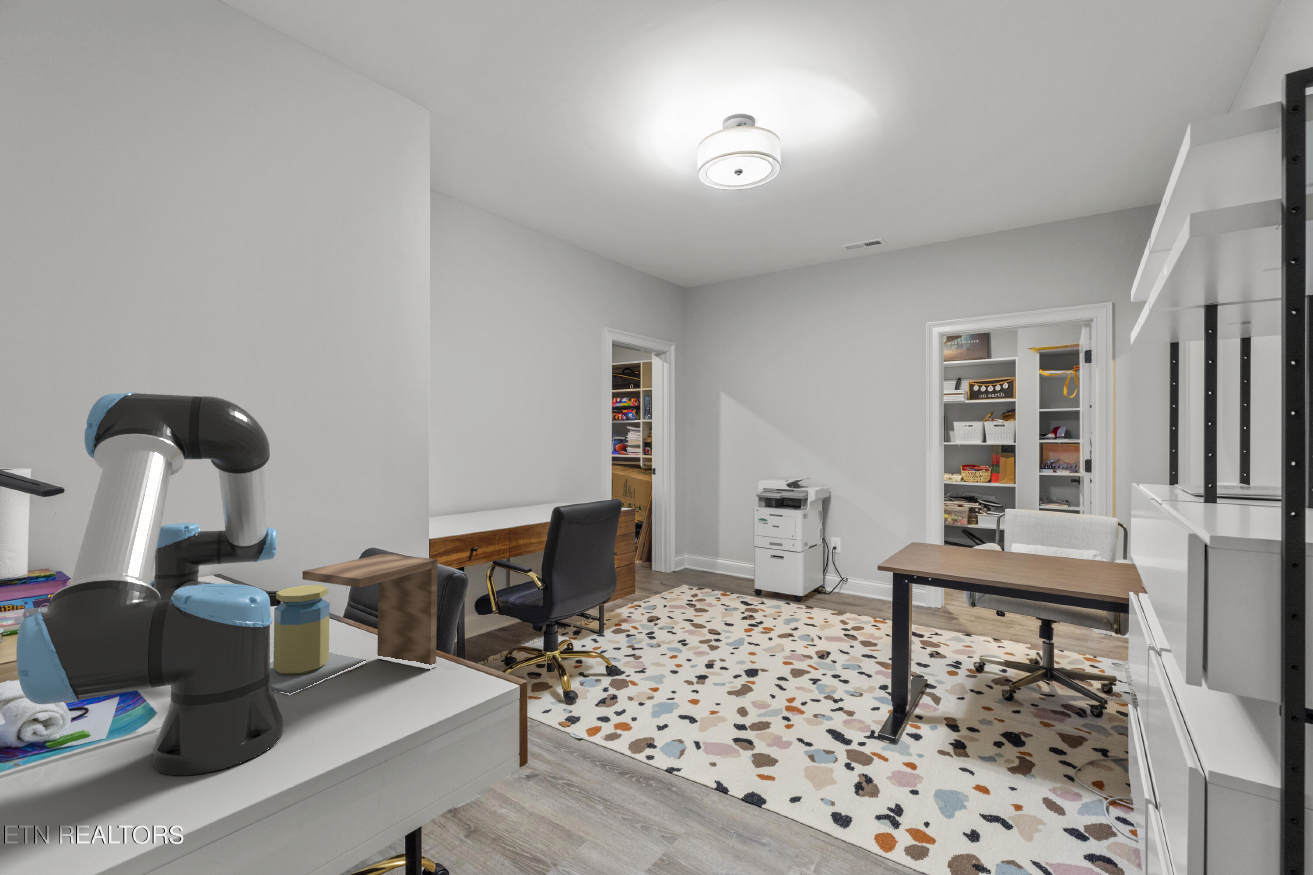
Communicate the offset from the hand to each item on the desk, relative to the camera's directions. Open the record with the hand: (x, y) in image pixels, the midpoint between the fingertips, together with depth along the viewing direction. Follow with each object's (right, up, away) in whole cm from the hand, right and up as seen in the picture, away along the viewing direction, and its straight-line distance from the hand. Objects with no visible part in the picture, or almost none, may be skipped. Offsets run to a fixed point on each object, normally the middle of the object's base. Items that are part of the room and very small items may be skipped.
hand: (271, 612), depth 116 cm
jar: (+8, -10, -3) cm, 13 cm away
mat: (+8, -10, -3) cm, 13 cm away
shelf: (+23, -11, -6) cm, 26 cm away
